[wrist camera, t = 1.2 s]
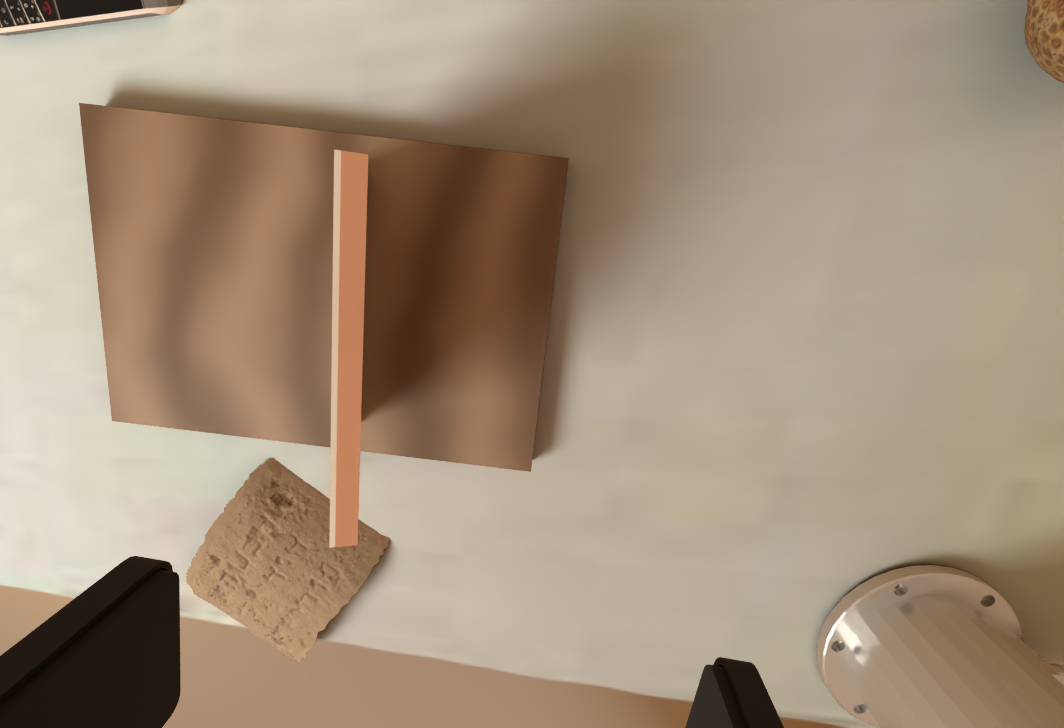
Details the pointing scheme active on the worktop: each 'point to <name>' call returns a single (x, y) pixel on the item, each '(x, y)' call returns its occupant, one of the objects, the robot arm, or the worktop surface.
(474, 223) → the walnut board
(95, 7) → the cell phone
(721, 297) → the worktop surface
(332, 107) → the worktop surface
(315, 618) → the clay tablet
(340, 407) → the ceramic tile
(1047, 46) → the natural sponge
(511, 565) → the worktop surface
